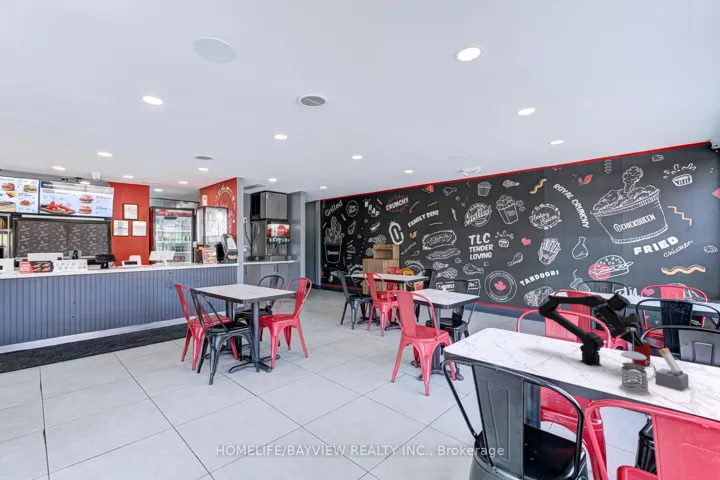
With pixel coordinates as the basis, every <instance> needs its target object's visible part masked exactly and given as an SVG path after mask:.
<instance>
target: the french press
mask: <svg viewBox="0 0 720 480" xmlns="http://www.w3.org/2000/svg"><path fill="white" fill-rule="evenodd" d="M630 330H631V331H636V329H635V328H630ZM620 356H621V357H623V358H626V359H630V360H632V359H633V361H632V362H622V366H621V384H620V385H618V388H619V389H620V390H622V391H623V392H626V393H629V394H633V395H637V396H651V392H650V391H649V389H648V388H649V385H648V384H649V383H648V382H649V381H653V380H654V379H655V377H656V374H657V373H656V371H657V369H656V366H655V365H654V364H653V363H652V362H651V361H650V362H649V361H648V362H649V363H650V365H652V367H653V370H654V373H653V375H652V376H651V377H647V375H648V373H647V371H646V366H641V365H638V364H635V363H634V359H635V360H646V359H647V357H646V356H644V355H643V354H640V353H638V352H635V351H634V334H633V351H632V350H628V351H627V350H626V351H623V352H621V353H620ZM646 361H647V360H646ZM646 361H645V364H646V365H647V362H646Z"/></svg>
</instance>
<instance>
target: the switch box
mask: <svg viewBox="0 0 720 480" xmlns="http://www.w3.org/2000/svg"><path fill="white" fill-rule="evenodd" d="M680 371H682V372H681V373H680V374H677V373H675V372H674V373H673V372H672V370H671V369H668V368H663V367H662V368H660V369H658V370H655V372H656V373H657V374H656V377H655V378H654V379H655V385H658V386H661V387H665V388H668V389H673V390H676V391H680V392H682V391H684V390H686V389H687V388H688V387H689V384H690V383H689V374H688V373H684V370H682V369H681V370H680Z"/></svg>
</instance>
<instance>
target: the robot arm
mask: <svg viewBox="0 0 720 480" xmlns="http://www.w3.org/2000/svg"><path fill="white" fill-rule="evenodd" d="M560 304H561V305H562V304H563V305H581V306H584V307H587V308H588V307H589V308H594V309H593V316H596V315H600V316H601V317H602V318H603V319H604V320H605V321H606V324H607V325H610V326H611V327H612V328H613V330H611V331H609V332H610V333H609V336H610V337H611V338H613V339H617V338H618V339H621V340H623V341H626V342H627V343H629V344H631V345H632V344H633V334H634V345H635V346H637V347H639V348H640V347H643V346H644V344H643V343H642V341H641V339H642V338H640V336H639V335H638V330H639V328H641V325H640V324H639V322H641V321H642V320H641V316H640V315H639V314H637V313H636V312H632V313H629V315H628V316H624V315H622V314H620V315H619V314H618V312H622V311H623V310H624V309H626V308H627V307H629V306H630V305H631V301H630V300H629V299H628V298H627V297H625V296H623V295H621V294H620V293H618V292H617V293H614V294H613V295H612V296H611V297H610V298H604V297H603V296H601V295H599V294H593V295H586V296H559V295H554V296H552V297H550V299H549V300H547V301H546V302H545V303H543V305H540V306H539V307H538V310H537V312H538V314H539V315H540V316H541V317H543V318H546V319H547V320H551V321H553V322H555V323H557V324H558V325H559V326H561V327H562V328H564V330H565V329H566V330H567V331H569V332H570V333H571V334H573V336H576V337H577V338H578V339H579V340H580V341H581V343H582V345H580V346H579V349H580V352H581V360H579V362H581V363H583V364H585V365H586V366H591V367H592V366H596V367H599V366H602V364H601V363H600V362H601V360H600V359H601V358H600V357H601V356H600V350H601V349H602V348H603V347H604V346H605V343H604V339H603V338H602V337H601V336H600V335H598V334H597V333H595V332H594V331H588V332H587V331H586V330H584V329H582V328H581V327H580V326H577V325H576V324H575V323H573V322H572V321H570V320H569V319H567V318H565V316H563V315H561V314H560V313H559V311H558V310H557V308H558V307H559V306H560ZM597 307H598V308H597ZM630 328H635V329H636V331H631V330H630Z"/></svg>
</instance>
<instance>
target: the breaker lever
mask: <svg viewBox="0 0 720 480" xmlns="http://www.w3.org/2000/svg"><path fill="white" fill-rule="evenodd" d="M658 352H659V354H660V355H661V356H662V358H663V360H664V361H665V362H666V364H667V365H668V367H669V370H672V372H673V373H674V372H675V373H677V374H680V373H681V372H682V371H683V370H682V368H681V367H680V366H679V364H678V363H677V361H676V359H675V358H674V357H673V355H672V353H671V351H670V349H669V348H668V347H665V348H662V349H659V350H658ZM680 370H681V371H680Z"/></svg>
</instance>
